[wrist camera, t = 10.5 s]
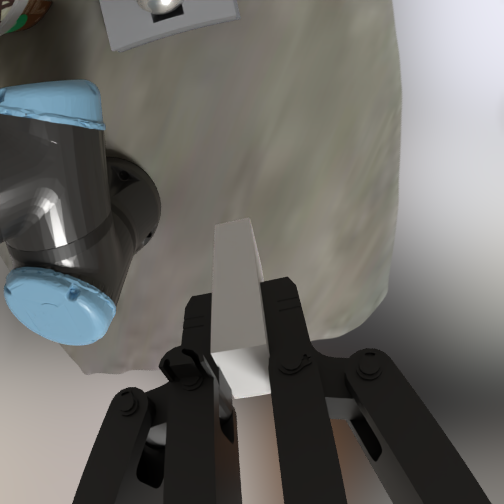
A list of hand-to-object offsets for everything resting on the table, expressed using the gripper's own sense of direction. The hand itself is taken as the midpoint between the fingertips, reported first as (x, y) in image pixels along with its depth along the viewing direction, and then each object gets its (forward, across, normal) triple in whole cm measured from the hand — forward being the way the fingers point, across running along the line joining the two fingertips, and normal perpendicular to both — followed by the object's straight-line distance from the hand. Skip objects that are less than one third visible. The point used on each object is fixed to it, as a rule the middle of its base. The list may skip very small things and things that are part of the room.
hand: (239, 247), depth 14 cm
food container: (+30, -25, +25) cm, 46 cm away
